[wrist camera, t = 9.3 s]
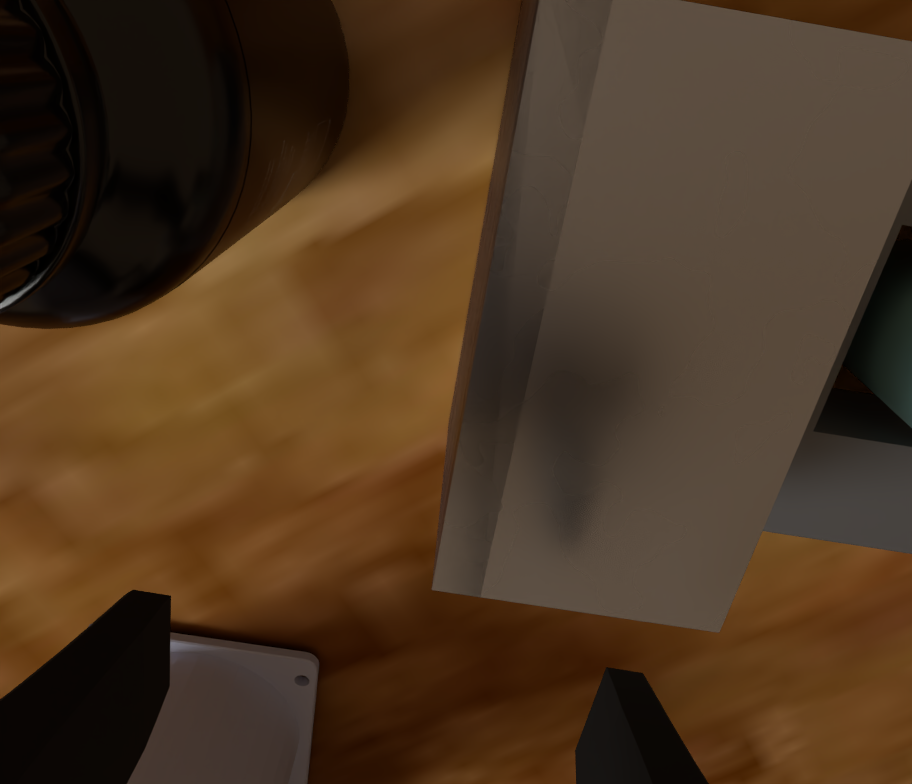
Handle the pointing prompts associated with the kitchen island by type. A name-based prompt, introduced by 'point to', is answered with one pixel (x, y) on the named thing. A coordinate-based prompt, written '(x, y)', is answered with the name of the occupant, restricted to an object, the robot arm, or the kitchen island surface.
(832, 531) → the socket block
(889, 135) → the grey rectangular block
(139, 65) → the supplement bottle
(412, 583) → the kitchen island surface
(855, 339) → the peg
